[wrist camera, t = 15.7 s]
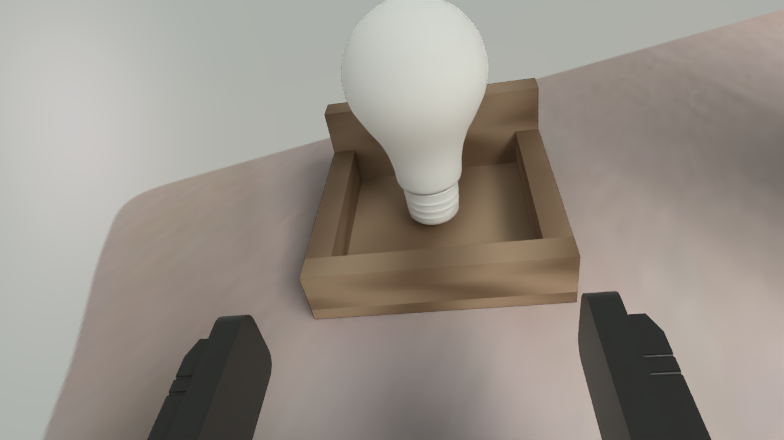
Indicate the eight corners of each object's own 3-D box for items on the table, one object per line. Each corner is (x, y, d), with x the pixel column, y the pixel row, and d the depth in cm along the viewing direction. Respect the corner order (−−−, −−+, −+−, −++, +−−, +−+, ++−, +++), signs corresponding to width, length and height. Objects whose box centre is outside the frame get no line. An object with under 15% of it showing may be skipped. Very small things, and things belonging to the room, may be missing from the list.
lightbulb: (374, 196, 29) (328, -8, 22) (482, 177, 29) (468, -35, 22) (379, 271, 24) (321, 39, 18) (509, 249, 24) (500, 5, 17)
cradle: (534, 157, 31) (534, 77, 28) (576, 301, 22) (584, 207, 19) (347, 177, 32) (327, 104, 29) (314, 318, 23) (282, 235, 20)
